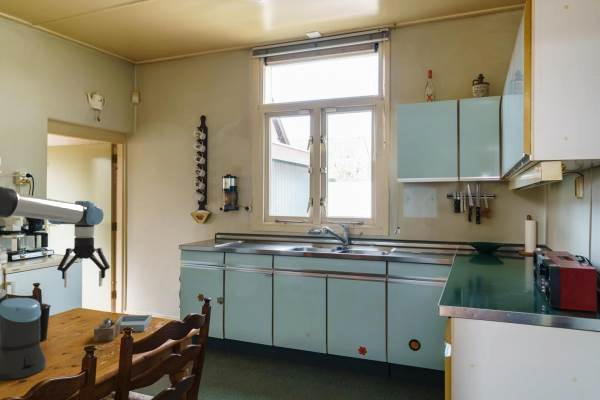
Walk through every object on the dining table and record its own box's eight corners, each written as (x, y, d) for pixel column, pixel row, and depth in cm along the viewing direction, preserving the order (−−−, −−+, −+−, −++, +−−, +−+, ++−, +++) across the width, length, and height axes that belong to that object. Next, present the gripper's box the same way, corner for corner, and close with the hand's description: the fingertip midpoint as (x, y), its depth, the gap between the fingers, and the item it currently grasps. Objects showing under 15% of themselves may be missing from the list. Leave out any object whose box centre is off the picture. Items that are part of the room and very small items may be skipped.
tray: (144, 331, 183) (144, 324, 183) (111, 332, 181) (111, 325, 181) (151, 321, 198) (151, 314, 198) (121, 322, 197) (121, 315, 197)
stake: (109, 339, 172) (109, 319, 172) (101, 339, 172) (102, 319, 172) (111, 336, 176) (111, 317, 176) (104, 336, 176) (104, 317, 176)
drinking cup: (53, 340, 171) (53, 291, 171) (31, 344, 165) (31, 294, 165) (47, 336, 176) (47, 288, 176) (26, 340, 170) (26, 291, 170)
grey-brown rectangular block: (113, 340, 170) (113, 326, 170) (93, 341, 169) (94, 326, 169) (120, 332, 181) (120, 318, 181) (102, 333, 180) (102, 319, 180)
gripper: (117, 235, 185) (116, 283, 185) (56, 236, 181) (55, 285, 181) (113, 237, 178) (112, 287, 178) (49, 237, 173) (48, 288, 173)
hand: (83, 286), depth 179 cm, fingers open, 13 cm apart
